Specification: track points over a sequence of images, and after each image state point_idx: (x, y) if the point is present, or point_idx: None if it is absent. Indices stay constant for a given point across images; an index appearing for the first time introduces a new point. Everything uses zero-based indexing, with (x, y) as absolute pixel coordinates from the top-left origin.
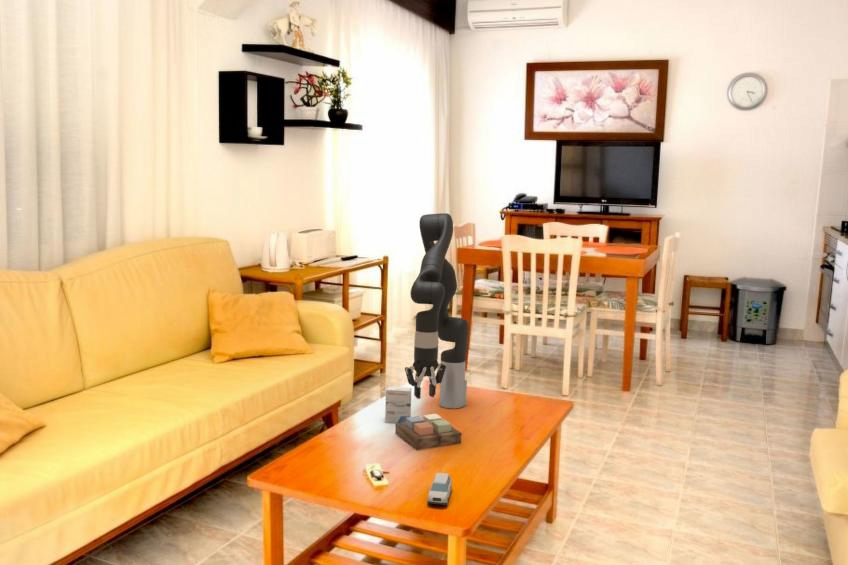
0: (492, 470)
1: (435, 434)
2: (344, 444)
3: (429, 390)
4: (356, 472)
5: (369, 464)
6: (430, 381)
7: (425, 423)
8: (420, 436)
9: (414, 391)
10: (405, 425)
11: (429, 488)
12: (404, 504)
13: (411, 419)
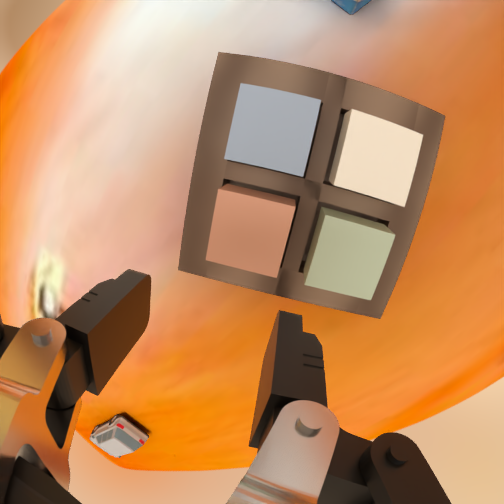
0: None
1: (282, 273)
2: (48, 91)
3: (274, 344)
4: (20, 272)
5: (45, 254)
6: (270, 444)
7: (271, 220)
8: None
9: (80, 304)
10: None
11: (93, 437)
12: None
13: (247, 125)
